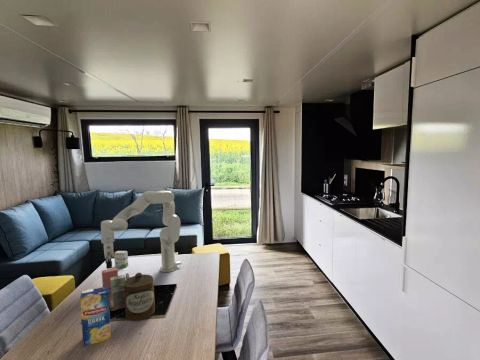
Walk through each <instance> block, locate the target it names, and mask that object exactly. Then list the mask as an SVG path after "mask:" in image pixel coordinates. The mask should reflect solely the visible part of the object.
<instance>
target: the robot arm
mask: <svg viewBox="0 0 480 360" xmlns="http://www.w3.org/2000/svg"><path fill="white" fill-rule="evenodd" d="M174 200H175V194H174V193H173V192H172V191H170V190H165V189H162V190H161V189H160V190H159V191H155V190H154V191H153V190H146V191H144V192H143V193H142V194H141V195H140V196H139V197H138V198H137V199H135V200H134V201H133V202H132V203H131V204H130V205H128V206H127V207H124V209H122V210H121V211H120V212H119V213H117V215H115V216H114V217H113V218H112V220H111V219H107V220H102V221H101V222H100V232H101V233H100V241H101V244H103V253H104V259H105V262H104V263H105V265H106V270H108V269H113V261H112V258H114V242H115V232H122V231H125V230H127V228H128V226H129V223H128V220H129V219H130V218H131V217H134V216H136V215H139V214H141V213H142V212H143V211H144V210H145V209H147V207H148V206H149V205H153V204H155V205H156V204H157V205H159V204H162V206H163V209H162V224H163V225H164V226H167V227H163V228H161V230H160V231H159V240H160V250H161V251H160V252H161V267H159V271H160V272H162V273H170V272H174V271H176V270H177V269H178V266H181V265H182V262H181V261H175V259H176V258H175V256H176V255H175V243H176V242H178V240H179V239H180V235H181V233H180V232H181V218H180V217H179V216H178V215H177V214H176V211H175V210H176V205H175V204H176V203H175V201H174Z"/></svg>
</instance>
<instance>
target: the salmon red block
mask: <svg viewBox="0 0 480 360" xmlns="http://www.w3.org/2000/svg"><path fill="white" fill-rule="evenodd" d="M115 276H119V269H118V268H115V267H114V268H113V267H112V268H108V269H104V270H101V278H102V279H101V280H102V284H101V285H102V287H105V286H109V289H111V277H115Z"/></svg>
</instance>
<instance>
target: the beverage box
mask: <svg viewBox="0 0 480 360" xmlns="http://www.w3.org/2000/svg"><path fill="white" fill-rule="evenodd" d="M109 290H110V288H109V286H105V287H103V286H102V287H96V288H90V289H86V290H82V291H81V292H80V293H81V294H80V298H79V299H80V311H81V312H80V314H81V330H82V331H81V332H82V333H81V334H82V347H87V346H90V345H93V344H97V343H101V342H103V341H107V340H111V339H112V336H111V335H112V334H111V333H112V332H111V331H112V329H111V308H110V302H109Z"/></svg>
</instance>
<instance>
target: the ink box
mask: <svg viewBox="0 0 480 360" xmlns="http://www.w3.org/2000/svg"><path fill="white" fill-rule="evenodd" d="M113 254H114V257H113V258H114V268H117V269H118V268H122V269H123V268H127V267H128V266H129V260H128V258H129V257H128V256H129V255H128V251H127V250H117V251H115V252H113Z"/></svg>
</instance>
